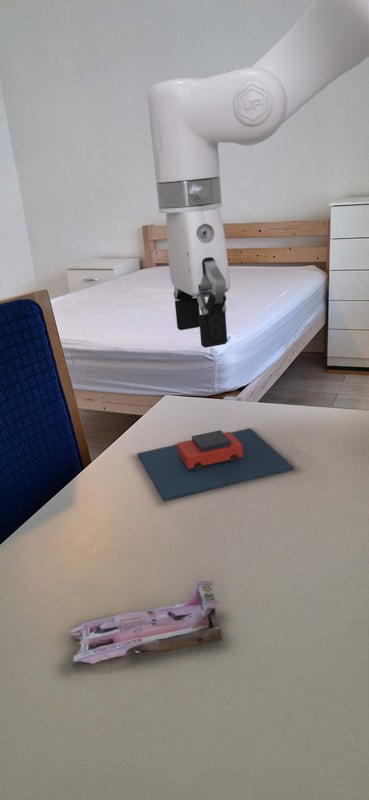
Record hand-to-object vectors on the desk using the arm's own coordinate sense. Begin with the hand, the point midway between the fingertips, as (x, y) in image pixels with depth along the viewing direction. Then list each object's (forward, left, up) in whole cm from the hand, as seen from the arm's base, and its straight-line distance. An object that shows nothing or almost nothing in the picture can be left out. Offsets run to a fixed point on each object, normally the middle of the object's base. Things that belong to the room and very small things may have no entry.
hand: (201, 336), depth 77 cm
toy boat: (+17, +29, -18) cm, 38 cm away
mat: (0, 0, -18) cm, 18 cm away
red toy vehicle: (0, +2, -16) cm, 16 cm away
